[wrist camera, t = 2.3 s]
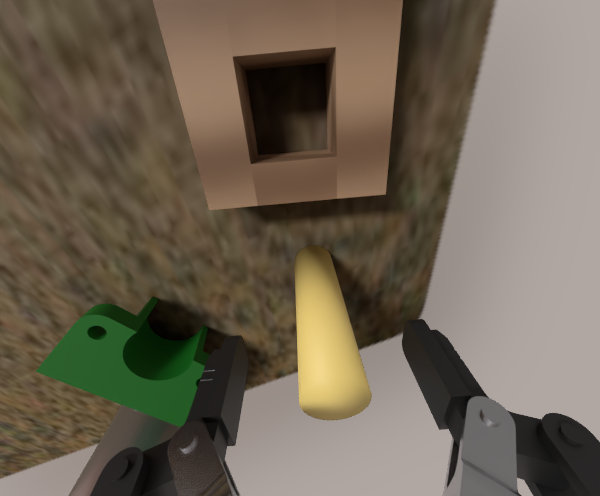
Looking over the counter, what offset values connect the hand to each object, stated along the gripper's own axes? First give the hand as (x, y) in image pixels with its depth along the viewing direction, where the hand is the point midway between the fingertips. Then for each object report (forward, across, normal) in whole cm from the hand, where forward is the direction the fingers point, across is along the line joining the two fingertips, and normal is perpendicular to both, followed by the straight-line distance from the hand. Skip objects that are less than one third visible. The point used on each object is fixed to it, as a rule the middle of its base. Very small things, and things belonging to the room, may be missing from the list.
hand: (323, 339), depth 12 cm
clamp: (+8, +14, +6) cm, 18 cm away
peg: (+8, 0, +1) cm, 8 cm away
